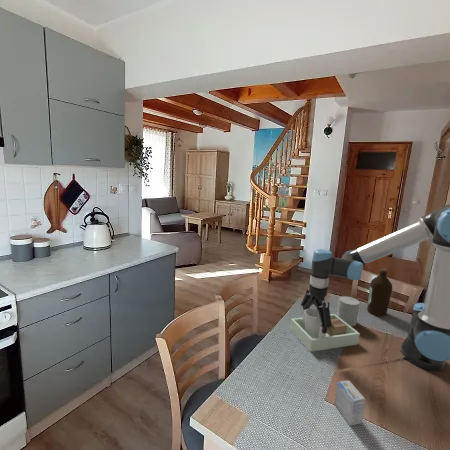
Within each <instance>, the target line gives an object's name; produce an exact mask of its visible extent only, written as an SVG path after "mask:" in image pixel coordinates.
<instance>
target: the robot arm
mask: <svg viewBox="0 0 450 450" xmlns="http://www.w3.org/2000/svg"><path fill="white" fill-rule="evenodd" d="M427 240H431V241H432V242H431V243H432V244H433V246H434V247H435V253H434V259H433V263H432V269H431V274H430V280H429V285H428V289H427V290H428V291H427V294H426V300H425V303H423V302H417V303H415V304H414V305H413V308H412V316H411V321H410V326H409V330H408V334H407V337H406V338H405V339H404V340H403V342H402V344H401V346H400V351H399V352H400V353H401V354H402V355H403V356H404V359H405V360H406V361H408V362H410V363H411V364H413V365H414V366H416V367H417V366H418V367H419V368H422V369H425V370H430V371H441V370H443V369H444V368H445V365H446V361H450V204H446V205H443V206H441V207H438V208H437V209H435V210H434V211H431V212H429V213H428V214H425V215H423V216H421V217H419V219H418V221H416V222H414V223H412V224H410V225H407V226H405V227H402V228H400V229H399V230H397V231H394V232H391V233H388V234H387V235H385V236H382V237H380V238H378V239H375V240H373V241H370V242H368V243H365V245H363V246H360V247H358V248H355V249H352V250H348V251H345V252H344V253H343V254H342V255H341V258H339V257H334V256H333V252H332V251H331V250H327V249H324V248H322V249H321V248H318V249H315V250H314V251H313V256H312V260H311V270H310V271H311V272H310V276H309V277H310V278H309V286H308V289H306V290H305V295H304V296H303V299H302V301H301V303H300V306H301V307H302V310H303V311H302V317H303V321H302V323H305V310H306V309H311V306H315V309H317V310H318V312H319V316H320V319H321V323H322V325H320V332H319V338H320V337H325V336H326V333H327V327H331V326H332V325H331V317H330V314H331V311H330V302H329V301H325V298H326V297H327V295H328V290H329V287H328V286H329V280H330V276H335V277H338V278H344V279H348V280H352V281H360V280H361V279H362V275H363V268H364V266H365V265H367V264H369V263H372V262H375V261H377V260H379V259H382V258H384V257H388V256H390V255H392V254H395V253H397V252H400V251H402V250H404V249H408V248H410V247H412V246H414V245H418V244H419V243H422V242H425V241H427Z"/></svg>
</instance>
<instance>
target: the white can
mask: <svg viewBox="0 0 450 450" xmlns="http://www.w3.org/2000/svg"><path fill="white" fill-rule="evenodd" d="M360 304H361V303H360V301H359V300H358V299H357V298H355V297H352V296H348V295H341V296H339V297H338V303H337V311H336V315H337V316H338V317H339V318H341V319H342V320H343V321H344V322H346V323H347V324H348V325H350V326H351V327H352V328H353V327H355V326H357V321H358V315H359V308H360Z"/></svg>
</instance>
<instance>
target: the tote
mask: <svg viewBox="0 0 450 450" xmlns="http://www.w3.org/2000/svg"><path fill="white" fill-rule="evenodd" d="M330 317H331V319H339V320H340V321H341V322H343V323H344V324H345V325H346V326H347V327H346V333H345V334H342V335H335V336H330V335H328V334H327V333H326V336H325V337H320V338H313V339H312V338H311V337H310V336H309V335H308V334H307V333H306V331H305V323H302V321H303V316H302V317H294V318H290V325H289V330H290V331H291V332H292V333H293V334H294V335H295V336H296V338H297V339H298V340H299V341H300V342H301V343H302V344H303V346H305V348H306V349H307V350H308V351H309V352H312V353H313V352H316V351H317V352H319V351H324V350H330V349H331V350H332V349H338V348H342V347H350V346H357V345H359V342H360V341H359V340H360V335H361V333H360V332H358V330H357V329H355V328H353V326H352V327H351V326H350V325H348V324H347V323H346V322H344V321H343V320H342V319H341V318H339V317H338V316H337V314H336V313H330Z"/></svg>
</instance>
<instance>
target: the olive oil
mask: <svg viewBox="0 0 450 450" xmlns="http://www.w3.org/2000/svg"><path fill="white" fill-rule="evenodd" d="M387 275H388V269H387V268H380V271H379V275H377V276H375V277H374V278H373V279H371V281H370V283H369V289H368V298H367V299H368V300H367V309H366V310H367V312H368V313H369V314H371V315H373V316H376V317H386V316H387V315H388V309H389V304H390V300H391V296H392V292H393V284H392V282H391V281H390V280H389V278H388V277H387Z"/></svg>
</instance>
